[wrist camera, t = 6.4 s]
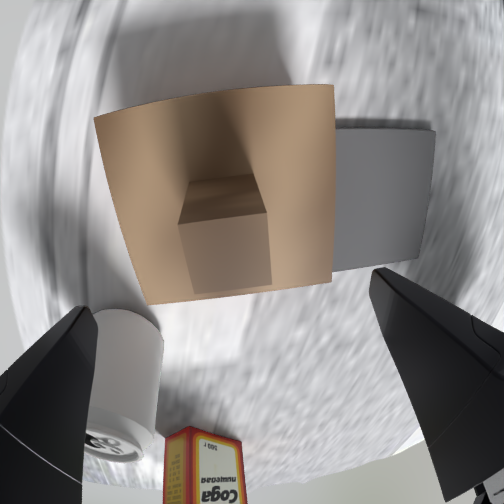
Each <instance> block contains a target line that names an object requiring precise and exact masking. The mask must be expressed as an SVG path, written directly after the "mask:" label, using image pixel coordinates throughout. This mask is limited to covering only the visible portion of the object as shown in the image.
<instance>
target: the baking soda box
mask: <svg viewBox="0 0 504 504" xmlns="http://www.w3.org/2000/svg"><path fill="white" fill-rule="evenodd" d="M163 504H248V503H247V494H246V484H245V474H244V464H243V453H242V442H240V441H237V440H233V439H229V438H226V437H222V436H219V435H216V434H212V433H209V432H206V431H203V430H200V429H197V428H194V427H191V426H188V427H187V428H185V429H183V430H181V431H179V432H177V433H175V434H173V435H171V436H169V437H167V438H165V453H164V476H163Z"/></svg>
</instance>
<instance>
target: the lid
mask: <svg viewBox="0 0 504 504" xmlns="http://www.w3.org/2000/svg"><path fill="white" fill-rule="evenodd" d="M94 123H95V128H96V133H97V138H98V143H99V148H100V152H101V156H102V161H103V165H104V169H105V173H106V177H107V181H108V185H109V189H110V193H111V196H112V200H113V204H114V207H115V211H116V214H117V217H118V221H119V224H120V228H121V231H122V234H123V237H124V240H125V244H126V247H127V250H128V253H129V256H130V259H131V262H132V265H133V268H134V270H135V273H136V276H137V279H138V282H139V284H140V287H141V290H142V293H143V295H144V298H145V301H146V303H147V305H157V304H167V303H176V302H186V301H195V300H204V299H212V298H221V297H229V296H237V295H245V294H252V293H260V292H267V291H275V290H282V289H289V288H296V287H303V286H310V285H316V284H323V283H329V282H331V281H332V266H333V250H334V229H335V197H336V130H335V100H334V85H329V84H308V85H280V86H264V87H252V88H241V89H232V90H223V91H215V92H208V93H201V94H195V95H189V96H183V97H177V98H172V99H166V100H161V101H157V102H152V103H147V104H143V105H138V106H134V107H130V108H126V109H122V110H118V111H114V112H111V113H107V114H103V115H100V116H97V117H94Z"/></svg>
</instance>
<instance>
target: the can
mask: <svg viewBox="0 0 504 504" xmlns="http://www.w3.org/2000/svg"><path fill="white" fill-rule="evenodd" d="M93 316H94V318H95V320H96V322H97V324H98V340H97V351H96V363H95V372H94V378H93V384H92V391H91V397H90V404H89V411H88V419H87V427H86V437H85V447H84V453H85V454H87V455H90V456H92V457H95V458H98V459H102V460H106V461H111V462H117V463H134V462H138V461H140V460H142V458H143V457H144V454H143V451H144V450H145V449H147V448H148V447H150V446H151V444H152V443H153V442H154V432H155V421H156V411H157V401H158V392H159V384H160V375H161V368H162V360H163V353H164V340H163V338H162V335H161V333H160V331H159V330H158V329H157V328H156V327H155V326H154V325H153V324H152V323H151V322H150V321H148V320H147V319H145V318H144V317H142V316H141V315H139V314H137V313H134V312H132V311H129V310H123V309H106V310H101V311H99V312H97V313H95V314H93Z"/></svg>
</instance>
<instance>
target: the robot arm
mask: <svg viewBox="0 0 504 504" xmlns="http://www.w3.org/2000/svg"><path fill="white" fill-rule="evenodd" d="M369 296H370V299H371V302H372V305H373V308H374V311H375V314H376V317H377V320H378V323H379V326H380V329H381V332H382V335H383V337H384V340H385V342H386V344H387V347H388V349H389V351H390V353H391V356H392V358H393V360H394V362H395V365H396V367H397V369H398V372H399V374H400V376H401V379H402V381H403V384H404V386H405V389H406V391H407V394H408V396H409V398H410V401H411V404H412V406H413V409H414V411H415V414H416V416H417V419H418V422H419V424H420V427H421V430H422V433H423V435H424V438H425V441H426V444H427V447H429V448H428V450H429V452H430V456H431V459H432V462H433V465H434V468H435V471H436V474H437V477H438V480H439V483H440V487H441V490H442V494H443V497H444V500H445V502H448V501H450V500H452V499H454V498H456V497H458V496H460V495H461V494H463V493H465V492H467V491H469V490H470V489H472V488H474V490H475V493H476V496H477V497H476V498H475V501H474V504H504V332H502V331H500V330H498V329H496V328H494V327H492V326H490V325H488V324H487V323H485V322H483V321H481V320H480V319H478V318H476V317H475V316H473V315H470V314H469V313H468V312H466V311H464V310H462V309H461V308H459V307H457V306H455V305H454V304H452V303H450V302H448V301H447V300H445V299H443V298H441V297H439V296H438V295H436V294H434V293H432V292H430V291H429V290H427V289H425V288H423V287H421V286H420V285H418V284H416V283H414V282H412V281H410V280H408V279H407V278H405V277H403V276H401V275H399V274H397V273H395V272H394V271H392V270H390V269H388V268H386V267H383V268H377V269H374V270H373V271H372V275H371V281H370V287H369ZM97 340H98V324H97V322H96V320H95V318H94V316H93V315H92V313H91V311H90V309H89V307H88V306H85V305H84V306H76V307H75V308H73V309H72V310H71V311H70V312H69V313H68V314H66V315H65V316H64V317H63V318H62V319H61V320H60V321H59V322H57V323H56V324H55V325H54V326H53V327H52V328H51V329H50V330H48V331H47V332H46V333H45V334H44V335H43V336H42V337H41V338H40V339H39V340H37V341H36V342H35V343H34V344H33V345H32V346H31V347H30V348H29V349H28V350H27V351H26V352H25V353H24V354H23V355H22V356H20V357H19V358H18V359H17V360H16V361H15V362H14V363H13V364H12V365H11V366H10V367H9V368H8V370H6V371H5V372H4V373H3V374H2V375H1V376H0V504H82V476H83V459H84V447H85V437H86V427H87V419H88V411H89V404H90V397H91V391H92V384H93V378H94V372H95V363H96V351H97Z"/></svg>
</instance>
